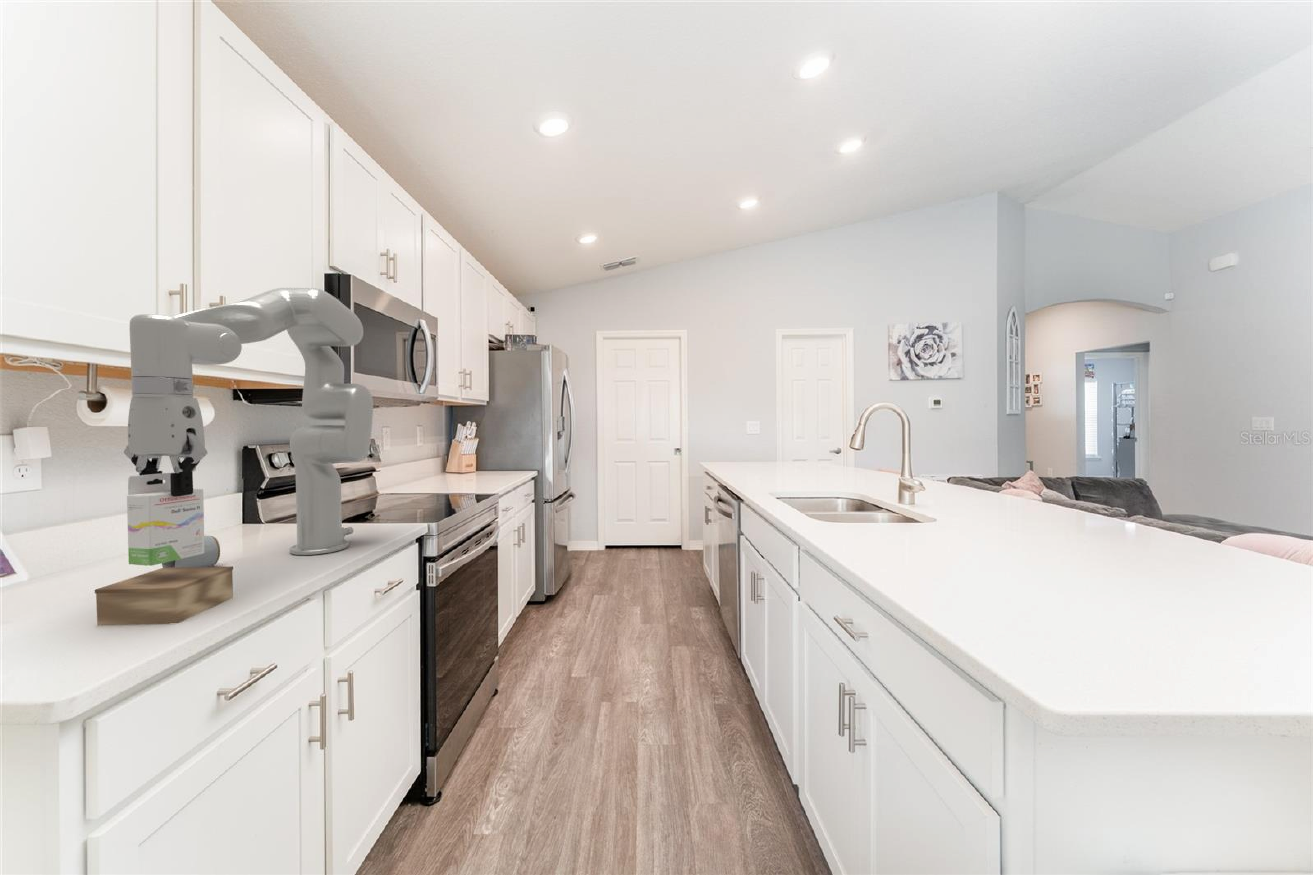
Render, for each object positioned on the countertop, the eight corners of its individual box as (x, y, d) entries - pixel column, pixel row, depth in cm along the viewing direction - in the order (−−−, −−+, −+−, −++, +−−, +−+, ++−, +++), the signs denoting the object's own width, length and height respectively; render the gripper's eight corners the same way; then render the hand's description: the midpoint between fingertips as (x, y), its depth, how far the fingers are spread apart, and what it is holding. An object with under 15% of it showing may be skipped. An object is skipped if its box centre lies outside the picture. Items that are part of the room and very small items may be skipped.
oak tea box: (164, 600, 94) (163, 567, 93) (234, 598, 94) (233, 566, 94) (96, 627, 81) (94, 589, 81) (176, 625, 82) (175, 588, 82)
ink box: (150, 566, 83) (147, 476, 82) (127, 565, 84) (123, 476, 83) (207, 553, 91) (204, 471, 91) (185, 551, 92) (182, 470, 92)
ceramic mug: (223, 567, 113) (222, 533, 113) (176, 577, 106) (174, 541, 106) (199, 562, 118) (198, 529, 118) (153, 571, 111) (151, 536, 111)
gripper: (229, 390, 89) (232, 492, 90) (143, 390, 91) (147, 491, 92) (185, 387, 82) (188, 499, 83) (93, 388, 84) (97, 497, 85)
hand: (167, 494), depth 87 cm, fingers closed on ink box, 5 cm apart
